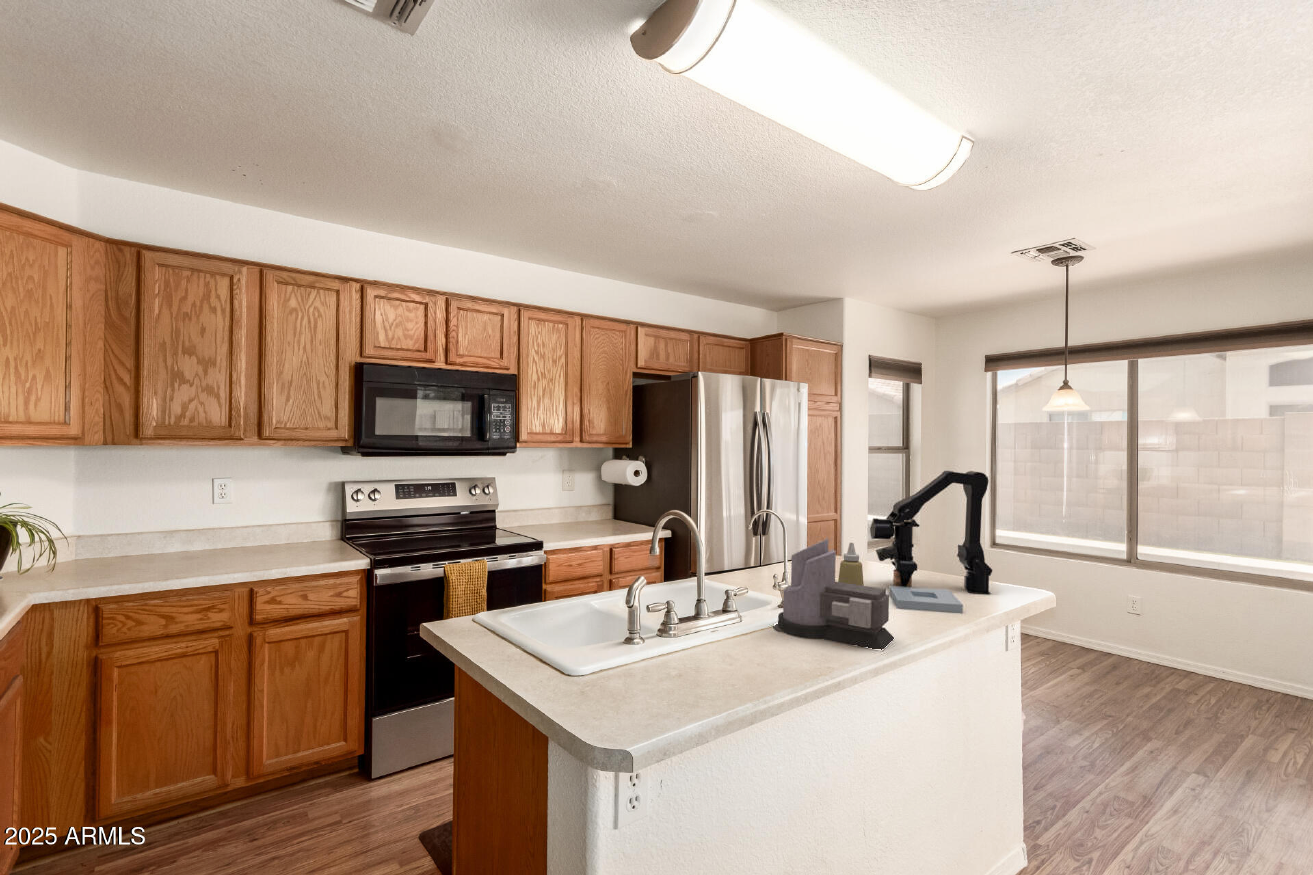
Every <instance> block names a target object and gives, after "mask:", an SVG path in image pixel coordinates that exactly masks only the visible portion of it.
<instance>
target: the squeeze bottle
mask: <svg viewBox="0 0 1313 875" xmlns="http://www.w3.org/2000/svg"><path fill="white" fill-rule="evenodd" d="M837 580H838V581H837V582H842V583H848V584H855V585H862V586H865V584H864V582H865V581H864V571H863V563H862V562H861V561H860V554H858V553H856V548H855V543H854V542H849V544H848V548H847V552H846V553H843V560H841V561H840V563H839V571H838V579H837Z"/></svg>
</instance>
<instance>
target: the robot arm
mask: <svg viewBox="0 0 1313 875" xmlns="http://www.w3.org/2000/svg"><path fill="white" fill-rule="evenodd" d="M952 484H959V485H962V487H963V491H964V494H965V497H966V503H965V504H966V506H965V530H964V540H963V543H962V544H957V555H956V558H958V561H959V562H960V563H961V565H963V567H964V570H965V571H966V572H965V575H964V581H963V582H964V583H963V588H964V589H965V590H966V591H967V592H968V593H969V594H982V595H983V594H984V595H987V594H988V595H991V592H990V590H989V589H990V576H992V573H993V569H992V567H990V566H989V565H988V564H987V563H986V561H985V560H986V559H985V553H984V552H985V551H984V548H983V547H982V542H981V532H982V513H983V512H982V510H983V507H982V506H983V499H984V497H985V495H986V492H987V491H988V486H989V477H988V476H987V475H986V474H985V473H984V472H981V471H975V470H969V471H967V472H965V473H964V472H957V471H952V470H944V471H943V472H941V473H940V475H938V476H937V477H936V478H934V479H933V480H932V481H930V482H929V483H927V484H926V485H924V487H922V488H921V489H919V490H918V491H917V492H916V493H915V494H912V495H909V496H907V497H905V498H903V499H901V500H899V501H897V502H896V503H894V504H893V507H892V511H891V512H890V513H889V514H888V516H887V517H886V518H878V517H877V518H876V517H873V518H872V522H871V525H870V528H869V532H870V537H871V539H873V540H891V539H892V538H893V539H894V540H893V541H892V542H891V543H892V544H891V545H889V546H885V547H882V548H877V549H876V550H875V553H876V555H877V558H878V560H879V562H883V561H885V560H888V559H889V560H890V562H891V564H892V566H894V569H896V570H897V571H898V572H899V574H900V580H901V586H902V587H906V586H907V584H908V582H909V580H910V578H911V576H912V577H913V575H914V572H915V571H916V572H917V571H918V564H917V563H916V562H915V561H914V555H913V548H914V546H915V545H914V543H913V532H914V531H913V530H914V529H913V528H919V527H920V524H919V523H918V522H916V520H915V519H914V518H915V517H916V516H917V515H918V513H919V512H920V511H921V510H922V508H923V506H925V505H926V503H928V502H929V501H931V500H932V499H933V498H935V496H937V495H938V494H940V493H941V492H943V491H944V490H945V489H947V488H948V487H949V486H950V485H952Z"/></svg>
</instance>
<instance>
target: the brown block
mask: <svg viewBox="0 0 1313 875" xmlns="http://www.w3.org/2000/svg"><path fill="white" fill-rule="evenodd" d="M892 578H893V582H892V586H900V587H902V586H901V580H900V574H899V572H898V571H897V570H896V569H895V568H894V569H893V577H892ZM912 579H913V575H912V576H911V578H910V580H909V582H908V584H907V586H906V587H913V585H912V581H913V580H912Z"/></svg>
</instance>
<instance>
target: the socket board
mask: <svg viewBox="0 0 1313 875" xmlns="http://www.w3.org/2000/svg"><path fill="white" fill-rule="evenodd" d="M888 586H889V589H888V590H889V591H888V592H889V594H888V595H889V597H890V598H891V600H892V601H893V603H894V605H895V607H896V609H899V610H914V611H925V612H926V611H929V612H940V613H954V614H955V613H956V614H964V612H963V609H964V607H963V606H964V604H963V603H962V602H961V601H960V600H959V599H958V597H956V596H955V595H954V594H953V593H952V591H951V590H950V589H946V588H945V589H942V588H931V587H929V588H928V587H913V586H912V587H900V586H893V585H888Z"/></svg>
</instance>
